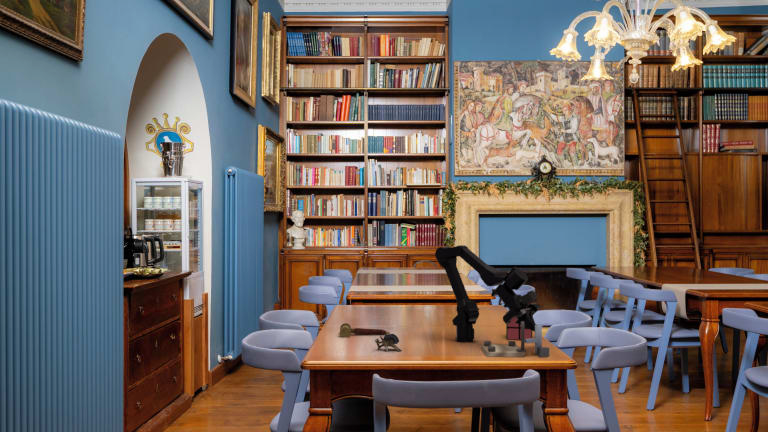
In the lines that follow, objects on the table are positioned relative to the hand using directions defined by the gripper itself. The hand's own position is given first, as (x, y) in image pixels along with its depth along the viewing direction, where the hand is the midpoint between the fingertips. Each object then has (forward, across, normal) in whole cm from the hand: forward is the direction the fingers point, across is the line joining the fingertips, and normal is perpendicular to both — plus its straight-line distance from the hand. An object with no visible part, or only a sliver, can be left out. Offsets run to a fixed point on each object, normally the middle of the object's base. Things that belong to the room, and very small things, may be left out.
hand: (537, 331), depth 198 cm
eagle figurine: (-24, -34, +34) cm, 54 cm away
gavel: (-42, -20, +54) cm, 72 cm away
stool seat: (-2, -8, +12) cm, 15 cm away
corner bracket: (+8, -3, +3) cm, 9 cm away
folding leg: (+5, -3, +5) cm, 8 cm away
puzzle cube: (-7, +20, +19) cm, 29 cm away
